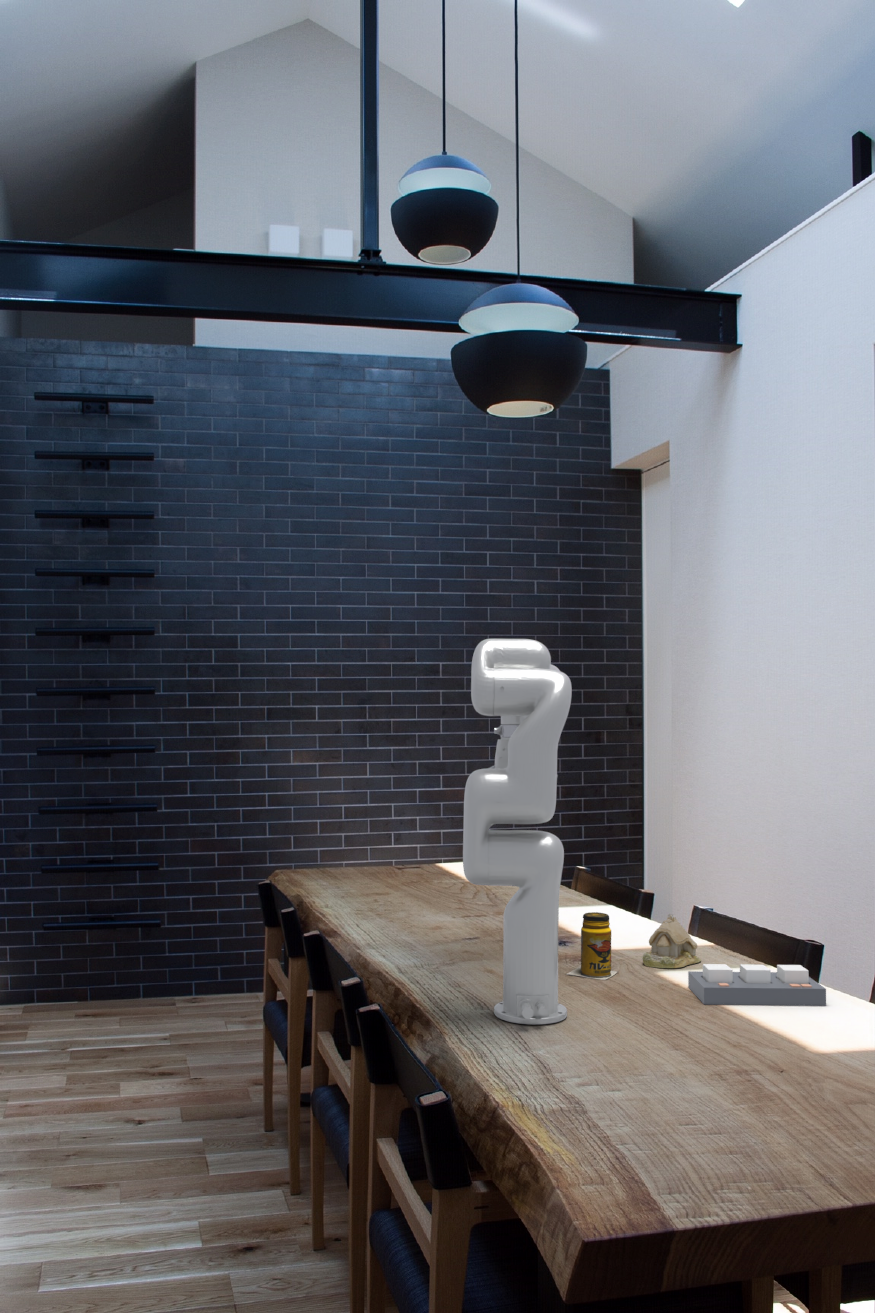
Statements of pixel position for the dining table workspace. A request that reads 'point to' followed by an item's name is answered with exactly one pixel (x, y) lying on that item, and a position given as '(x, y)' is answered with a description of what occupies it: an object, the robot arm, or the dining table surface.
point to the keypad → (756, 992)
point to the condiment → (595, 947)
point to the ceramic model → (671, 946)
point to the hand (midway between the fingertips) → (517, 812)
